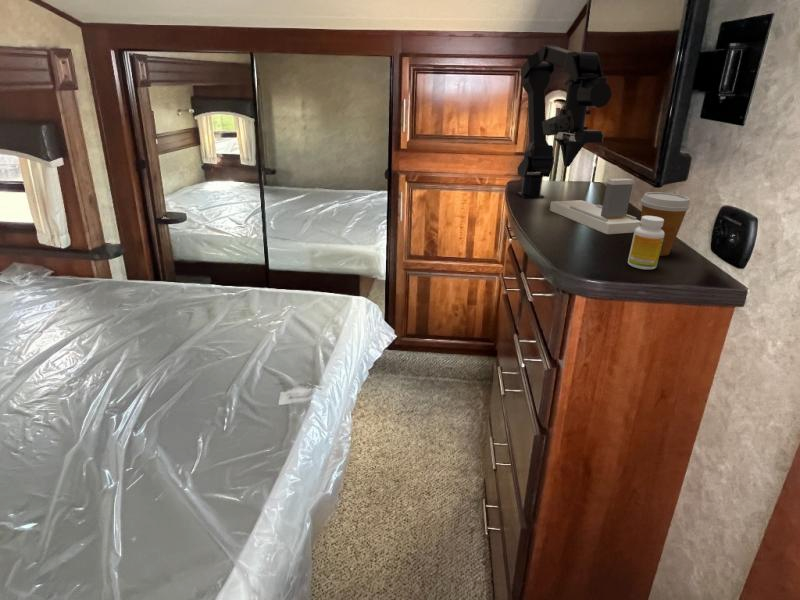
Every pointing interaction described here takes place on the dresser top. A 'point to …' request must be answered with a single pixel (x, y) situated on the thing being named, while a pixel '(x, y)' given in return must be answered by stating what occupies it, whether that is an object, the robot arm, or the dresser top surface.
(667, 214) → the disposable coffee cup
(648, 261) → the supplement bottle
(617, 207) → the fader tab
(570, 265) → the dresser top surface
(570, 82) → the robot arm
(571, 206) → the white slider track base
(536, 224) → the dresser top surface
